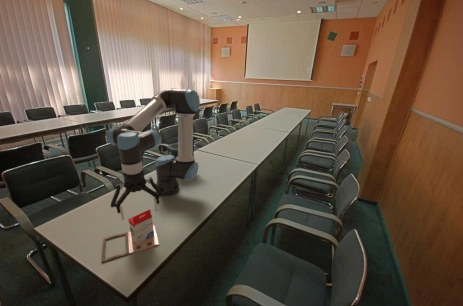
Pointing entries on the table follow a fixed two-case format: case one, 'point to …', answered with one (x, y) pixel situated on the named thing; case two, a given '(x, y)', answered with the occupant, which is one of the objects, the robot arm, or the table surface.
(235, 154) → the table surface
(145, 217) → the ink box
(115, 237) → the frame
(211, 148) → the table surface
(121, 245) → the table surface
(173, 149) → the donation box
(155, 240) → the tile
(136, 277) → the table surface
